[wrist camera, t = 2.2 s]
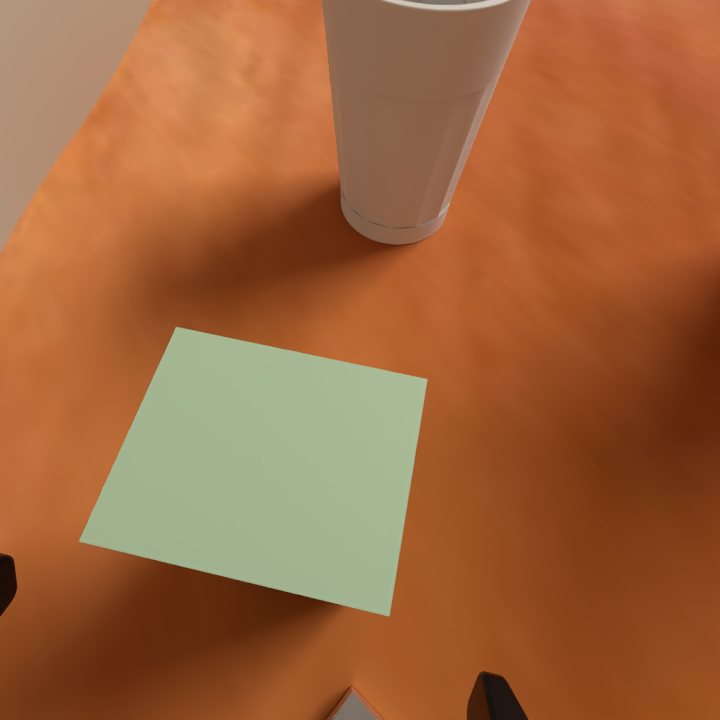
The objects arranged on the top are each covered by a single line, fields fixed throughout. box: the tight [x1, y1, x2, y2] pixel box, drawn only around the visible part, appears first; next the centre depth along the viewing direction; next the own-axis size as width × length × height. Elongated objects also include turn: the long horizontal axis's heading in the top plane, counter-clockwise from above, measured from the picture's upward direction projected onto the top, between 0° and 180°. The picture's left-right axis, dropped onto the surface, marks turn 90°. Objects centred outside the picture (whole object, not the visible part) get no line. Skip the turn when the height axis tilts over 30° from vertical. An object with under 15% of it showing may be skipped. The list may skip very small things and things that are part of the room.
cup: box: [322, 0, 531, 245], centre depth 21 cm, size 8×8×12 cm
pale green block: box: [79, 327, 427, 616], centre depth 13 cm, size 4×5×12 cm
